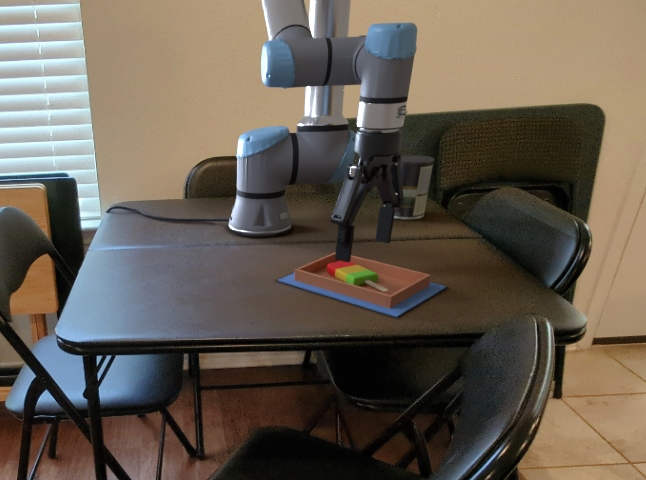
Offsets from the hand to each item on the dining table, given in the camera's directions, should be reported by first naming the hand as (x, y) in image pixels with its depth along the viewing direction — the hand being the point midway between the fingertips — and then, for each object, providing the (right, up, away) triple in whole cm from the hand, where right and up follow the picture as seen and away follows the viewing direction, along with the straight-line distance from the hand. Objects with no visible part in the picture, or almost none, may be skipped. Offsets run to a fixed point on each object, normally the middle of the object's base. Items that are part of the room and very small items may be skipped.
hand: (363, 250), depth 109 cm
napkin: (0, -6, +3) cm, 7 cm away
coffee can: (+24, +17, +44) cm, 53 cm away
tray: (0, -6, +3) cm, 7 cm away
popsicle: (0, -6, +2) cm, 6 cm away
